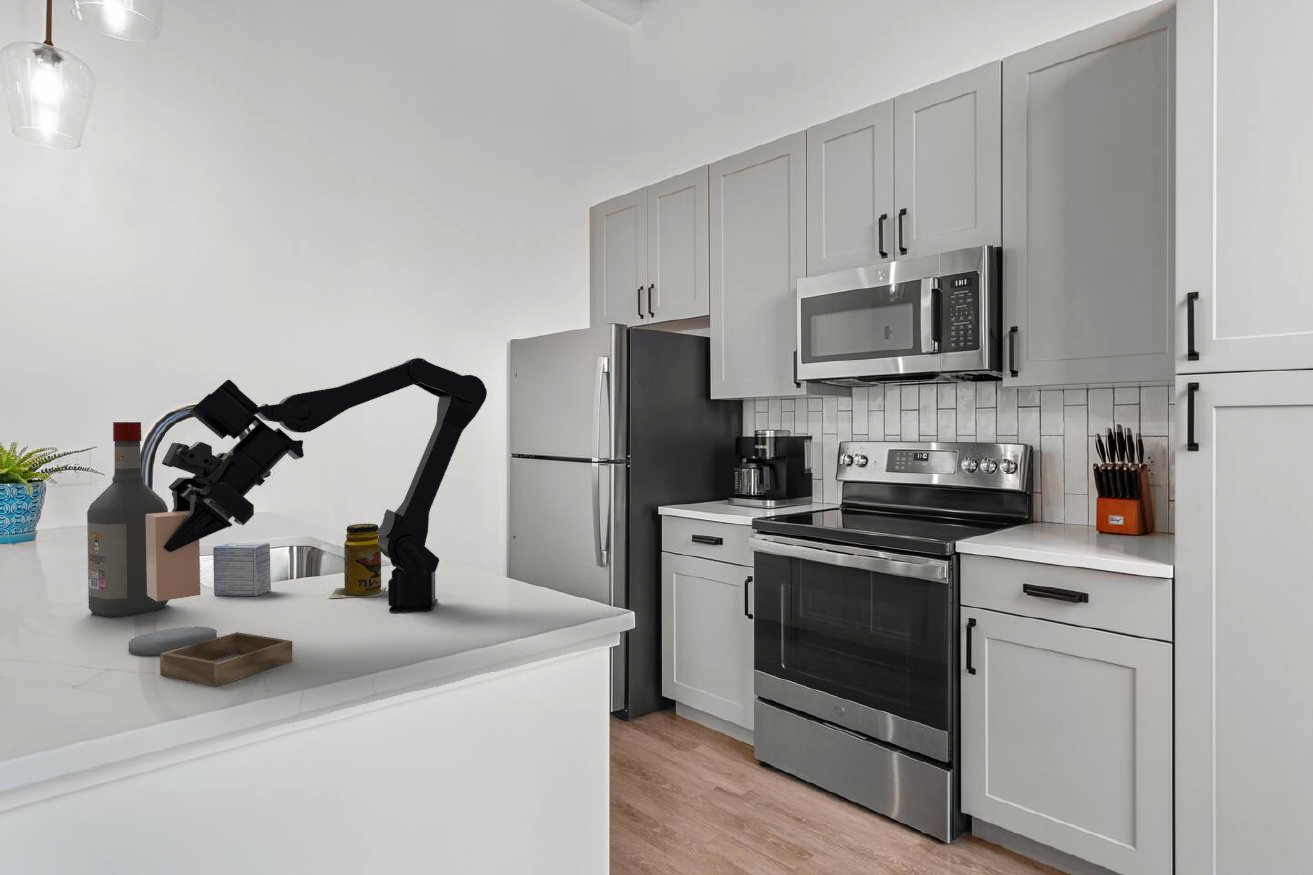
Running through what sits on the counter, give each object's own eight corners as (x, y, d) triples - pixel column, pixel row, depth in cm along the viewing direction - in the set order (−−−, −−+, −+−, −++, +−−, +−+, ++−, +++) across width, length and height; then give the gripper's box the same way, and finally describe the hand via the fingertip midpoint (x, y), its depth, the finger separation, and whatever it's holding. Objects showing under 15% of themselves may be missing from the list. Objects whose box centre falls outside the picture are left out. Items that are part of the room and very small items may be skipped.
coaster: (229, 632, 107) (229, 625, 107) (194, 654, 97) (194, 646, 97) (154, 634, 106) (154, 627, 106) (111, 656, 96) (111, 649, 96)
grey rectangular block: (271, 591, 134) (271, 542, 133) (255, 597, 129) (255, 546, 129) (230, 590, 134) (229, 542, 134) (212, 596, 130) (212, 546, 130)
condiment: (380, 596, 129) (380, 527, 129) (327, 599, 127) (327, 528, 127) (386, 587, 136) (385, 521, 136) (336, 590, 135) (335, 523, 134)
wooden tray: (237, 651, 98) (236, 632, 98) (292, 660, 94) (292, 640, 94) (160, 674, 89) (159, 653, 89) (217, 686, 85) (217, 664, 85)
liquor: (113, 619, 114) (110, 422, 114) (82, 612, 118) (79, 422, 118) (175, 606, 122) (173, 422, 122) (144, 600, 127) (142, 422, 126)
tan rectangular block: (189, 589, 105) (188, 510, 105) (200, 594, 101) (198, 513, 101) (147, 595, 101) (145, 513, 101) (156, 601, 98) (155, 517, 97)
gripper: (184, 422, 110) (92, 503, 102) (226, 421, 97) (125, 514, 89) (243, 472, 116) (161, 553, 108) (290, 478, 103) (201, 570, 95)
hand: (161, 547), depth 100 cm, fingers closed on tan rectangular block, 5 cm apart
